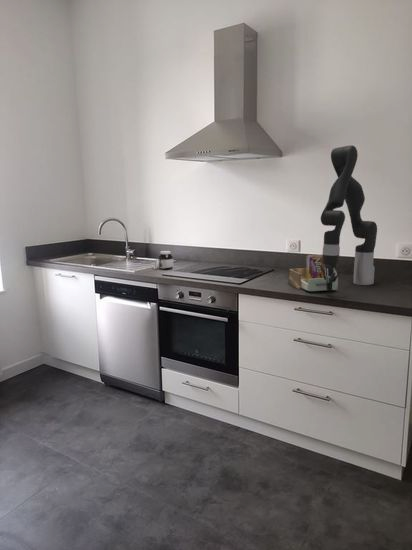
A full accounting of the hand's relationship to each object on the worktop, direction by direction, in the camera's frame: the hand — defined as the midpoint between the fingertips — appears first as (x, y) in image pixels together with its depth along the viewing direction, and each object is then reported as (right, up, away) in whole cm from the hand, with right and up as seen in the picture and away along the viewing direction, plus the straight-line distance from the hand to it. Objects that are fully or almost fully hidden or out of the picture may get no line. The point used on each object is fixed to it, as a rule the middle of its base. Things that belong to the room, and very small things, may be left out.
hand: (329, 289), depth 194 cm
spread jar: (-87, +11, +74) cm, 115 cm away
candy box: (-2, +2, +16) cm, 16 cm away
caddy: (-4, +1, +22) cm, 23 cm away
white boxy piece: (-2, +1, +13) cm, 13 cm away
